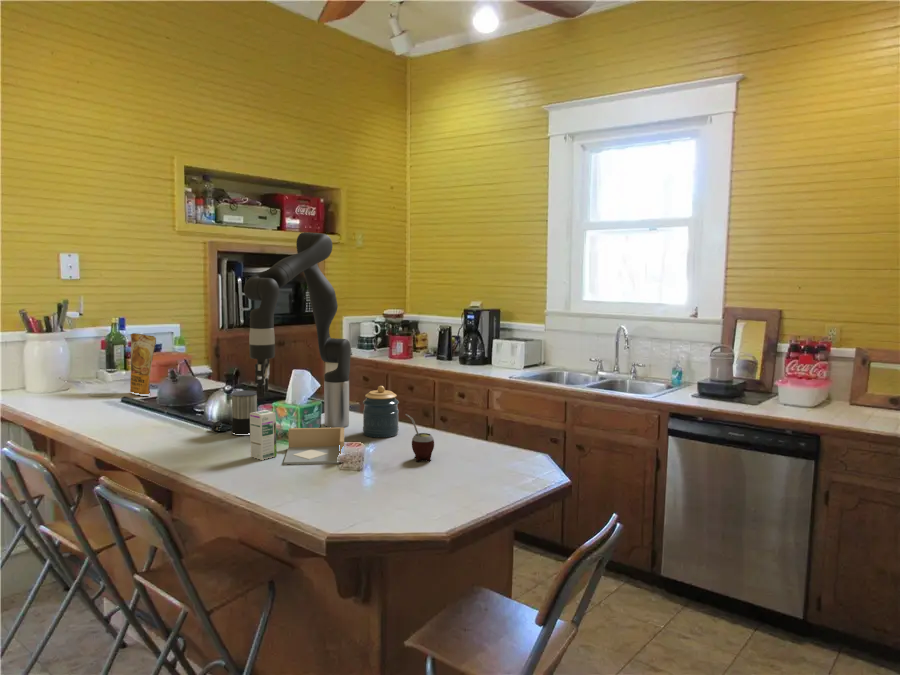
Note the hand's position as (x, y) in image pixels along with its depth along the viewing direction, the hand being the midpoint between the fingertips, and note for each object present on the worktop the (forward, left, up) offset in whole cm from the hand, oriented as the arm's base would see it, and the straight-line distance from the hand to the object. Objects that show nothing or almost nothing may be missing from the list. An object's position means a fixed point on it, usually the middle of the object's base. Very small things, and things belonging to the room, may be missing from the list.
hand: (262, 394), depth 200 cm
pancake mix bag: (-108, -68, -20) cm, 129 cm away
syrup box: (0, 0, -20) cm, 20 cm away
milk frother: (-33, -14, -20) cm, 41 cm away
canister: (-26, +38, -20) cm, 50 cm away
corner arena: (0, +16, -20) cm, 26 cm away
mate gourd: (+8, +49, -20) cm, 54 cm away
